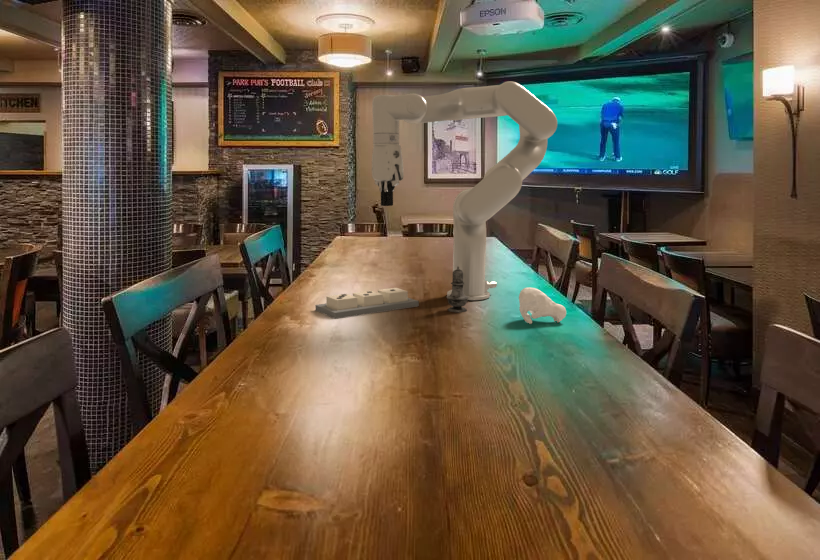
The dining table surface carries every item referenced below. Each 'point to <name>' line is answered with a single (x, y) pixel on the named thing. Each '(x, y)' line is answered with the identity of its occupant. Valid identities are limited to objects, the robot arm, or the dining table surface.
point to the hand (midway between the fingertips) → (387, 205)
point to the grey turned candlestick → (457, 293)
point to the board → (366, 308)
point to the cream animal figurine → (539, 305)
